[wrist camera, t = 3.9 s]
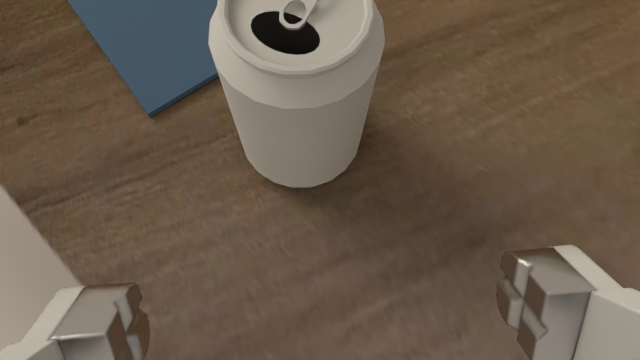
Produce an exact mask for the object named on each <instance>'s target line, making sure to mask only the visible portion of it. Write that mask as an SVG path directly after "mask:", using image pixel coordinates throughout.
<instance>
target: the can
mask: <svg viewBox="0 0 640 360" xmlns="http://www.w3.org/2000/svg"><path fill="white" fill-rule="evenodd" d="M384 44H385V36H384V27H383V19H382V17H381V15H380V13H379V11H378V9H377V7H376V5H375V3H374V0H218V2H217V7H216V9H215V11H214V14H213V16H212V18H211V20H210V27H209V42H208V45H209V48H210V51H211V54H212V57H213V60H214V63H215V66H216V69H217V72H218V75H219V78H220V81H221V84H222V87H223V89H224V92H225V95H226V98H227V101H228V104H229V107H230V110H231V113H232V116H233V119H234V122H235V125H236V128H237V131H238V134H239V137H240V140H241V143H242V145H243V148H244V151H245V154H246V157H247V159H248V160H249V161H250V163H251V164H252V165H253V166H254V168H255V169H256V170H257V172H259V173H260V174H262V175H263V176H265V177H266V178H268V179H269V180H271V181H272V182H274V183H278V184H281V185H285V186H288V187H292V188H297V187H314V186H317V185H320V184H323V183H326V182H329V181H331V180H332V179H334V178H335V177H337V176H338V175H339V174H341V173H342V172H343V171H345V170H346V169H347V167H348V166H349V164H350V163H351V162H352V160H353V159H354V157H355V156H356V153H357V150H358V146H359V143H360V139H361V135H362V131H363V127H364V123H365V119H366V116H367V112H368V108H369V104H370V100H371V96H372V92H373V88H374V84H375V80H376V76H377V72H378V68H379V64H380V60H381V56H382V52H383V48H384Z"/></svg>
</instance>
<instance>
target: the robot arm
mask: <svg viewBox="0 0 640 360" xmlns="http://www.w3.org/2000/svg"><path fill="white" fill-rule="evenodd" d="M500 267H501V269H502V270H503V272H504V273H505V274H506V275H505V276H504V277H503V278H502V279H501V280H500V281H499V282H498V285H497V294H496V296H497V303H498V308H499V311H500V313H501V316H502V317H503V319H504V321H505V322H506V324H507V325H508V326H510V327H512V328H514V329H515V330H517V331H518V336H517V341H518V342H519V344H520V345H521V347H522V348H523V350H524V351H525V353H526V354H527V356H528V357H529V359H530V360H640V291H637V290H635V289H632V288H622V287H621V286H620V285H619V284H618V283H617V282H616V281H615V280H613V279H612V278H611V277H610V276H609V275H608V274H607V273H606V272H604V271H603V270H602V269H601V268H600V267H599V266H598V265H597V264H596V263H594V262H593V261H592V260H591V259H590V258H589V257H588V256H587V255H586V254H584V253H583V252H582V251H581V250H580V249H579V248H578V247H576V246H573V245H562V246H553V247H548V248H540V249H529V250H518V251H508V252H505V253H504V255H503V256H502V260H501V266H500ZM141 300H142V295H141V292H140V289H139V286H138V285H137V284H135V283H119V284H103V285H88V286H75V287H64V288H62V289H60V290H58V291H57V293H56V294H55V295H54V297H53V298H52V299H51V301H50V302H49V304H48V305H47V307H46V308H45V309H44V310H43V312H42V313H41V315H40V316H39V317H38V319H37V320H36V321H35V323H34V324H33V326H32V327H31V328H30V330H29V331H28V333H27V334H26V336H25V337H24V338H23V340H22V341H21V342H20V343H13V344H11V345H9V346H7V347H6V348H4V349H2V350H1V351H0V360H144V359H145V356H146V353H147V350H148V347H149V338H150V328H149V321H148V317H147V314H146V313H145V312H143V311H142V310H141V309H140V308H138V307H139V305H140V302H141Z"/></svg>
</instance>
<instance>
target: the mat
mask: <svg viewBox="0 0 640 360" xmlns="http://www.w3.org/2000/svg"><path fill="white" fill-rule="evenodd" d="M67 1H68V2H69V4H70V5H71V6H72V8H73V9H74V11H75V12H76V13H77V15H78V16H79V18H80V19H81V20H82V22H83V23H84V25H85V26H86V28H87V29H88V30H89V32H90V33H91V35H92V36H93V37H94V39H95V40H96V42H97V43H98V44H99V46H100V47H101V49H102V50H103V52H104V53H105V54H106V56H107V57H108V59H109V60H110V61H111V63H112V64H113V66H114V67H115V69H116V70H117V71H118V73H119V74H120V76H121V77H122V78H123V80H124V81H125V83H126V84H127V85H128V87H129V88H130V90H131V91H132V93H133V94H134V95H135V97H136V98H137V100H138V101H139V102H140V104H141V105H142V107H143V108H144V110H145V111H146V112H147V114H148V115H149V117H152V116H154V115H155V114H157V113H159V112H160V111H162V110H164V109H165V108H167V107H169V106H170V105H172V104H174V103H175V102H177V101H179V100H180V99H182V98H184V97H185V96H187V95H189V94H190V93H192V92H194V91H195V90H197V89H199V88H200V87H202V86H204V85H205V84H207V83H209V82H210V81H212V80H214V79H215V78H217V77H219V75H218V72H217V69H216V66H215V63H214V60H213V57H212V54H211V51H210V48H209V45H208V42H209V27H210V20H211V18H212V16H213V14H214V11H215V9H216V7H217V2H218V0H67Z"/></svg>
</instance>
